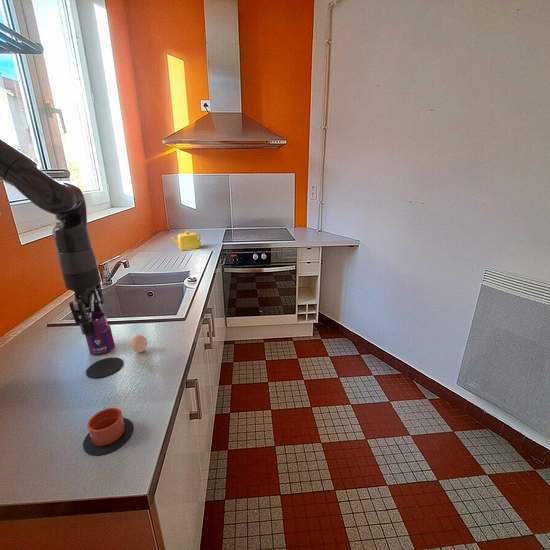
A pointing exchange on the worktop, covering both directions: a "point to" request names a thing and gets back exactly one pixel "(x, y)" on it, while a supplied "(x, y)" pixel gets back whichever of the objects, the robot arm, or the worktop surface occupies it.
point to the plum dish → (98, 322)
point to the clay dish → (106, 426)
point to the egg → (138, 343)
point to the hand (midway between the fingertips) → (95, 328)
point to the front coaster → (109, 448)
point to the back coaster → (104, 367)
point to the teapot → (187, 241)
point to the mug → (101, 342)
